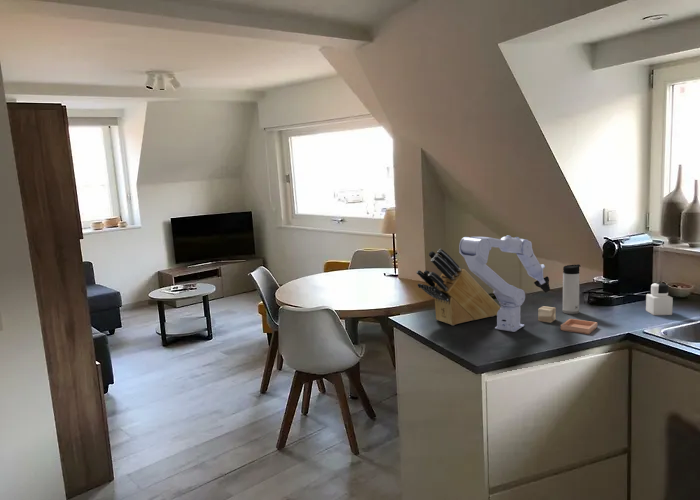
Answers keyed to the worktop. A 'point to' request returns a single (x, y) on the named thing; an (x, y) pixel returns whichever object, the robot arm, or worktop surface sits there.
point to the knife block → (456, 292)
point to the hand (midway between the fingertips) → (544, 285)
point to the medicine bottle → (659, 300)
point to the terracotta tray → (579, 326)
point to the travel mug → (571, 289)
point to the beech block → (546, 314)
